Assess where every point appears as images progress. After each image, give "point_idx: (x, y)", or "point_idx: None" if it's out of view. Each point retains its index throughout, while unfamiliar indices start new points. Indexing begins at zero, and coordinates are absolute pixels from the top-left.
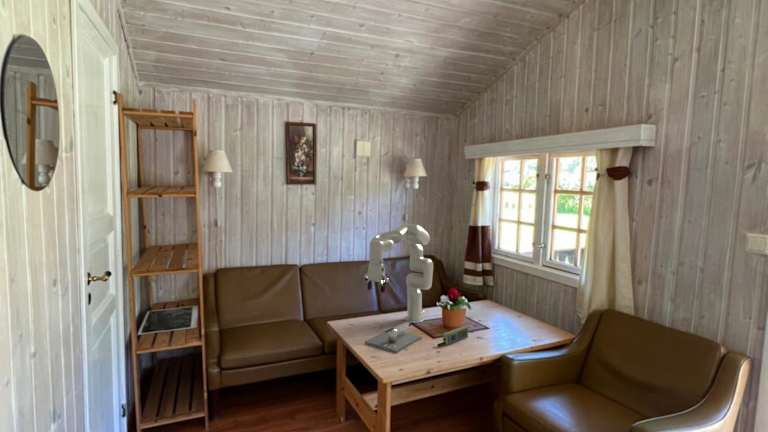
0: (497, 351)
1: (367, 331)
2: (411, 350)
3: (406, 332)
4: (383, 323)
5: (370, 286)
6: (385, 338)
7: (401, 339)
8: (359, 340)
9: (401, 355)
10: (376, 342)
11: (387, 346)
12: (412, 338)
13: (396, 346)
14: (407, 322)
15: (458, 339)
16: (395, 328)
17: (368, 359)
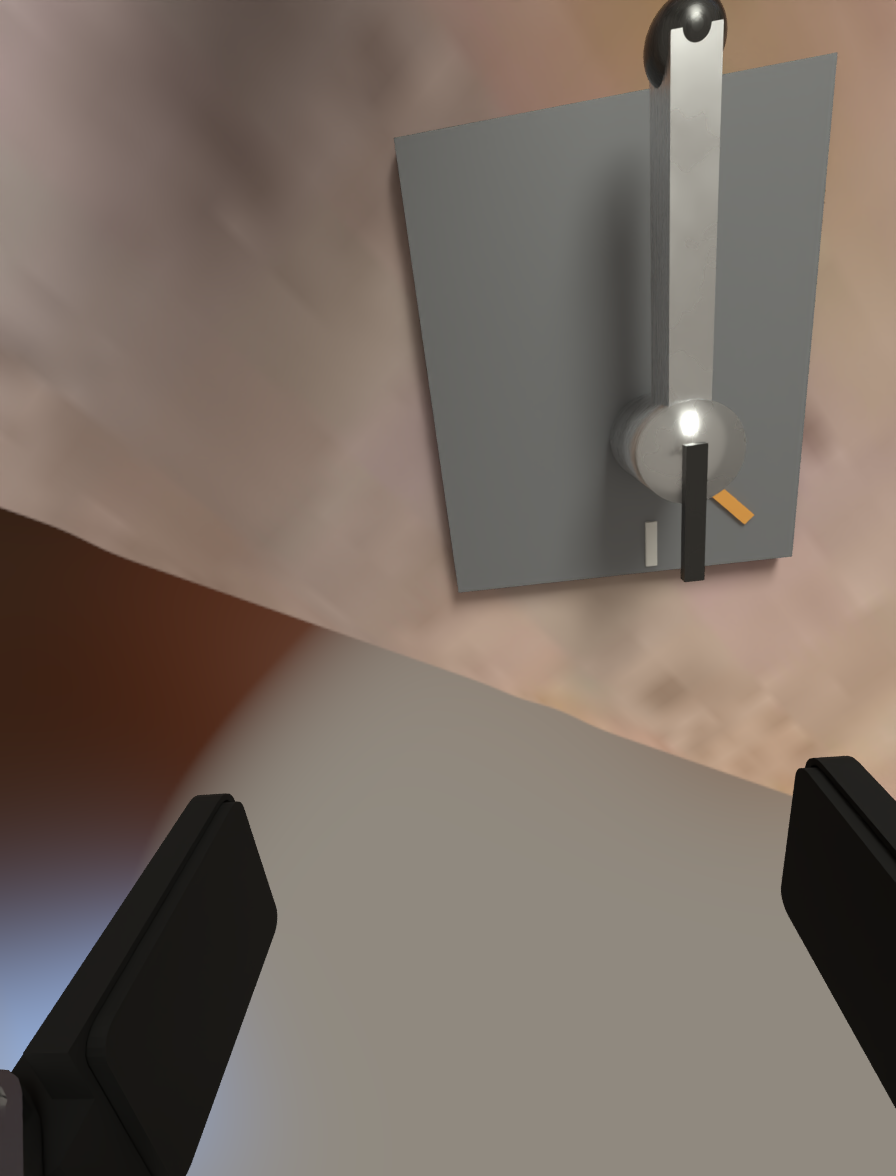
0: None
1: (252, 371)
2: (865, 417)
3: (617, 106)
4: (155, 22)
5: (217, 946)
6: (547, 425)
7: None
8: (373, 568)
9: (836, 551)
10: (546, 547)
11: (676, 545)
12: (775, 211)
13: (743, 492)
14: (699, 66)
15: None
16: (711, 416)
17: (665, 740)
